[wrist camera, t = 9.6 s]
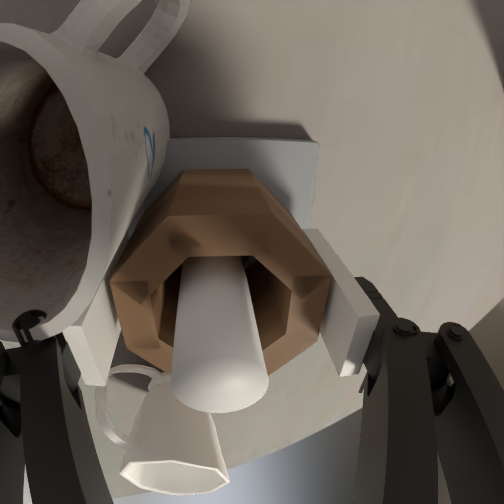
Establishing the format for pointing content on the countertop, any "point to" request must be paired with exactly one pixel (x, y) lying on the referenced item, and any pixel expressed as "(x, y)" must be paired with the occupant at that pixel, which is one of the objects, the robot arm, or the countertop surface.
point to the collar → (220, 244)
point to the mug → (74, 155)
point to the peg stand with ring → (228, 272)
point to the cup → (166, 440)
